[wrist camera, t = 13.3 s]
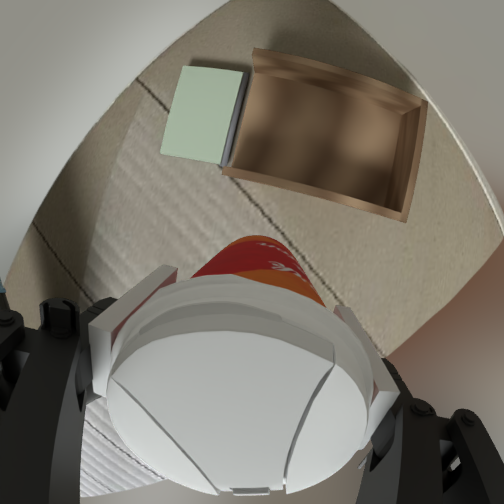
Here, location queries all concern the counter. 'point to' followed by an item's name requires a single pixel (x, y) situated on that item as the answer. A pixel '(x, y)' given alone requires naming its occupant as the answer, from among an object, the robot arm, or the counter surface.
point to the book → (204, 114)
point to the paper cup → (240, 377)
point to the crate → (330, 134)
